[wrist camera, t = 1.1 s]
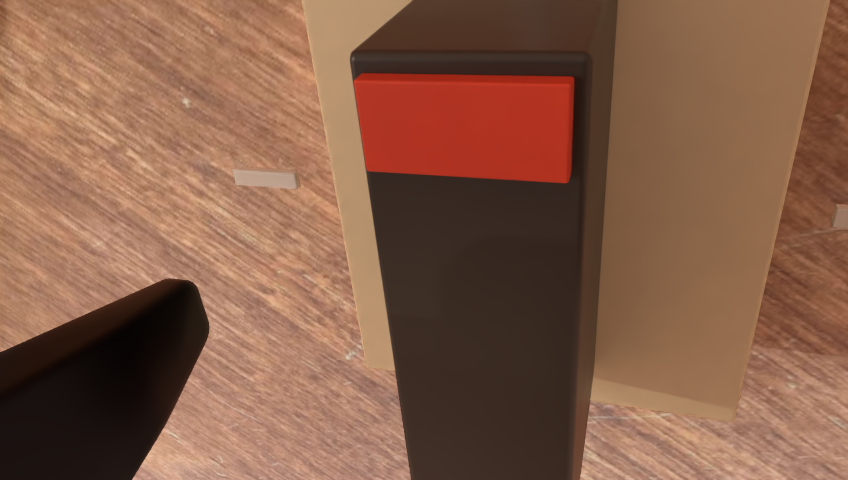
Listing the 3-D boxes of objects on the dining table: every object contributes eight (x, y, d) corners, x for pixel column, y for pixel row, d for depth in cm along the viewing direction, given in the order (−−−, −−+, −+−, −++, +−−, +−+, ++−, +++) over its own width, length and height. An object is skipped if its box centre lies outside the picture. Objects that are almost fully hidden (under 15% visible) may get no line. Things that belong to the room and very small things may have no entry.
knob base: (814, 375, 16) (841, 486, 14) (339, 315, 20) (291, 394, 17) (1007, -263, 10) (1128, -280, 7) (242, -183, 13) (140, -174, 11)
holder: (594, 370, 14) (565, 588, 10) (479, 354, 15) (413, 553, 11) (621, -47, 10) (590, 62, 6) (457, -42, 10) (335, 59, 7)
